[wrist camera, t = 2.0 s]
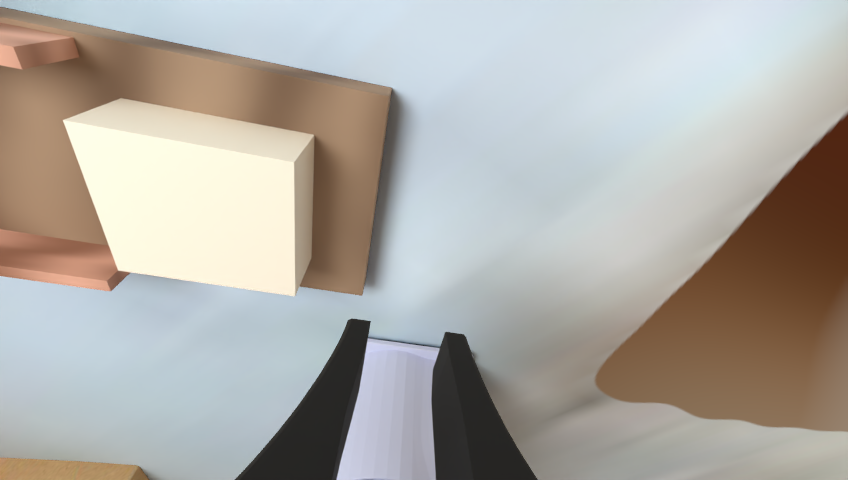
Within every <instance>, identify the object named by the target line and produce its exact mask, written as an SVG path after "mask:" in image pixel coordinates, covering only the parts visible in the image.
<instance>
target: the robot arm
mask: <svg viewBox="0 0 848 480" xmlns="http://www.w3.org/2000/svg"><path fill="white" fill-rule="evenodd" d="M370 322H371V321H365V320H358V319H350V320H348V322H347V325H346V327H345V330H344V332H343V334H342V336H341V338H340V340H339V342H338V344H337V346H336V348H335V350H334V352H333V353H332V355H331V357H330V358H329V360H328V362H327V363H326V365H325V367H324V368H323V370H322V372H321V373H320V375H319V376H318V378H317V379H316V381H315V382H314V384H313V385H312V387H311V388H310V389H309V391H308V392H307V394H306V395H305V397H304V398H303V400H302V401H301V402H300V404H299V405H298V406H297V408H296V409H295V410H294V412H293V413H292V414H291V416H290V417H289V418H288V419H287V421H286V422H285V423H284V424H283V426H282V427H281V428H280V430H279V431H278V432H277V433H276V434H275V436H274V437H273V438H272V439H271V440H270V441H269V443H268V444H267V445H266V446H265V447H264V448H263V450H262V451H261V452H260V453H259V454H258V455H257V456H256V458H255V459H254V460H253V461H252V462H251V463H250V464H249V465H248V466H247V468H246V469H245V470H244V471H243V472H242V473H241V474H240V475H239V476H238V477H237V478H236V479H235V480H538V479H537V478H536V476H535V475H534V473H533V472H532V470H531V469H530V467H529V466H528V464H527V463H526V461H525V459H524V458H523V456H522V454H521V453H520V451H519V450H518V448H517V446H516V445H515V443H514V441H513V439H512V438H511V436H510V434H509V432H508V430H507V429H506V427H505V425H504V423H503V421H502V419H501V417H500V415H499V414H498V412H497V410H496V408H495V406H494V404H493V402H492V399H491V397H490V395H489V393H488V391H487V389H486V387H485V384H484V382H483V380H482V378H481V375H480V373H479V371H478V368H477V366H476V363H475V361H474V356H473V354H472V353H471V350H470V348H469V345H468V342H467V339H466V337H465V336H464V334H457V333H450V332H445V335H444V338H443V341H442V344H441V347H440V348H435V347H428V346H420V345H413V344H406V343H399V342H391V341H384V340H377V339H369V338H368V334H369V328H370Z"/></svg>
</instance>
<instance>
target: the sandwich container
mask: <svg viewBox="0 0 848 480" xmlns="http://www.w3.org/2000/svg"><path fill="white" fill-rule="evenodd" d="M0 480H149V479H148V478H147V476H146V475H145V474H144V472H143V471H142V470H141V468H140V467H139V466H136V465H123V464H109V463H94V462H80V461H59V460H38V459H17V458H0Z"/></svg>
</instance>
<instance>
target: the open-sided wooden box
mask: <svg viewBox="0 0 848 480" xmlns="http://www.w3.org/2000/svg"><path fill="white" fill-rule="evenodd" d="M391 92H392V88H390V87H385V86H380V85H376V84H371V83H366V82H361V81H356V80H351V79H347V78H342V77H337V76H332V75H327V74H322V73H318V72H313V71H308V70H303V69H298V68H293V67H289V66H284V65H279V64H274V63H269V62H265V61H260V60H255V59H250V58H245V57H240V56H236V55H231V54H226V53H221V52H216V51H211V50H207V49H202V48H197V47H192V46H187V45H182V44H178V43H173V42H168V41H163V40H158V39H153V38H149V37H144V36H139V35H134V34H129V33H125V32H120V31H115V30H110V29H105V28H100V27H96V26H91V25H86V24H81V23H76V22H71V21H67V20H62V19H57V18H52V17H47V16H42V15H38V14H33V13H28V12H23V11H18V10H13V9H9V8H4V7H0V276H5V277H12V278H19V279H26V280H33V281H40V282H47V283H55V284H62V285H69V286H76V287H83V288H90V289H97V290H105V291H112V290H113V289H114V288H115V287H116V286H117V285H118V284H119V283H120V282H121V281H122V280H123V279H124V278H125V277H126V276H127V275H128V274H129V273H130V272H125V271H118V269H117V266H116V263H115V261H114V258H113V255H112V253H111V250H110V247H109V244H108V242H107V239H106V236H105V233H104V231H103V228H102V225H101V223H100V220H99V217H98V214H97V212H96V209H95V206H94V204H93V201H92V198H91V195H90V193H89V190H88V187H87V185H86V182H85V179H84V176H83V174H82V171H81V168H80V165H79V163H78V160H77V157H76V155H75V152H74V149H73V146H72V144H71V141H70V138H69V136H68V133H67V130H66V127H65V125H64V122H63V120H65V119H67V118H70V117H73V116H75V115H78V114H81V113H83V112H86V111H89V110H91V109H94V108H97V107H99V106H102V105H104V104H107V103H110V102H112V101H115V100H118V99H120V98H123V99H128V100H134V101H139V102H144V103H149V104H155V105H160V106H165V107H170V108H176V109H181V110H186V111H191V112H197V113H202V114H207V115H212V116H218V117H223V118H228V119H233V120H239V121H244V122H249V123H255V124H260V125H265V126H270V127H276V128H281V129H286V130H291V131H297V132H302V133H307V134H312V135H314V175H313V216H312V257H311V260H310V263H309V265H308V267H307V270H306V272H305V274H304V277H303V279H302V281H301V284H300V286H301V287H308V288H314V289H321V290H328V291H335V292H341V293H348V294H355V295H362V294H363V289H364V285H365V280H366V273H367V266H368V259H369V252H370V244H371V237H372V230H373V223H374V215H375V208H376V201H377V193H378V186H379V179H380V172H381V164H382V157H383V150H384V143H385V135H386V128H387V121H388V114H389V106H390V99H391Z"/></svg>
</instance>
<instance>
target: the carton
mask: <svg viewBox="0 0 848 480" xmlns="http://www.w3.org/2000/svg"><path fill="white" fill-rule="evenodd" d="M63 122H64V125H65V127H66V130H67V133H68V136H69V138H70V141H71V144H72V146H73V149H74V152H75V155H76V157H77V160H78V163H79V165H80V168H81V171H82V174H83V176H84V179H85V182H86V185H87V187H88V190H89V193H90V195H91V198H92V201H93V204H94V206H95V209H96V212H97V214H98V217H99V220H100V223H101V225H102V228H103V231H104V233H105V236H106V239H107V242H108V244H109V247H110V250H111V253H112V255H113V258H114V261H115V263H116V266H117V269H118V271H125V272H132V273H139V274H146V275H152V276H159V277H166V278H173V279H180V280H187V281H194V282H200V283H207V284H214V285H221V286H228V287H235V288H242V289H248V290H255V291H262V292H269V293H276V294H283V295H290V296H295V295H296V293H297V291H298V288H299V286H300V284H301V281H302V279H303V277H304V274H305V272H306V270H307V267H308V265H309V263H310V260H311V257H312V216H313V175H314V135H312V134H307V133H302V132H297V131H291V130H286V129H281V128H276V127H270V126H265V125H260V124H255V123H249V122H244V121H239V120H233V119H228V118H223V117H218V116H212V115H207V114H202V113H197V112H191V111H186V110H181V109H176V108H170V107H165V106H160V105H155V104H149V103H144V102H139V101H134V100H128V99H123V98H120V99H118V100H115V101H112V102H110V103H107V104H104V105H102V106H99V107H97V108H94V109H91V110H89V111H86V112H83V113H81V114H78V115H75V116H73V117H70V118H67V119H65V120H63Z"/></svg>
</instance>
